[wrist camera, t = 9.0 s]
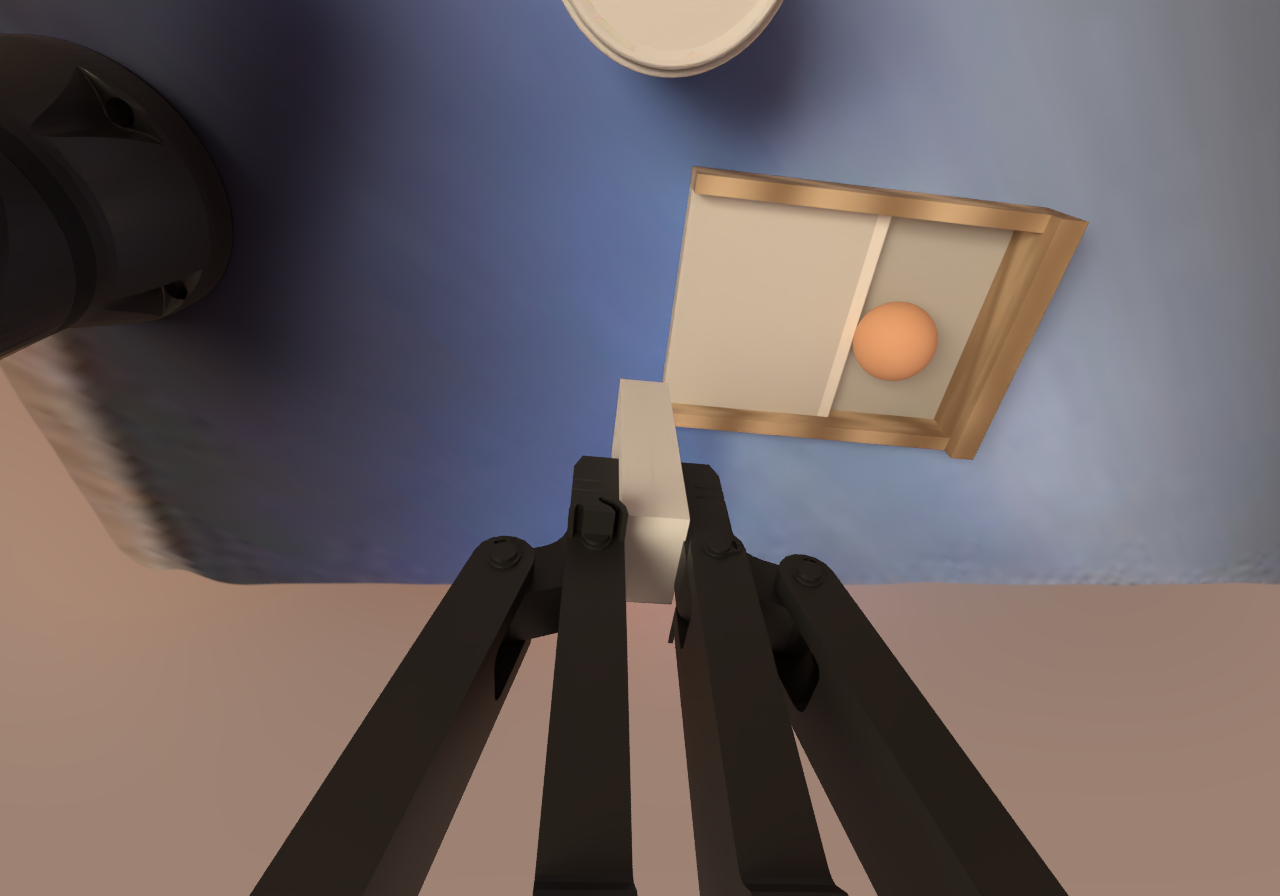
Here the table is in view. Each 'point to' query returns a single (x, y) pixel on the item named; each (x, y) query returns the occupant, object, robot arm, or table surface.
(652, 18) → the coffee cup
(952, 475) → the table surface
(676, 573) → the robot arm
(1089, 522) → the table surface
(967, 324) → the mat
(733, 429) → the lane frame
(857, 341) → the ball
